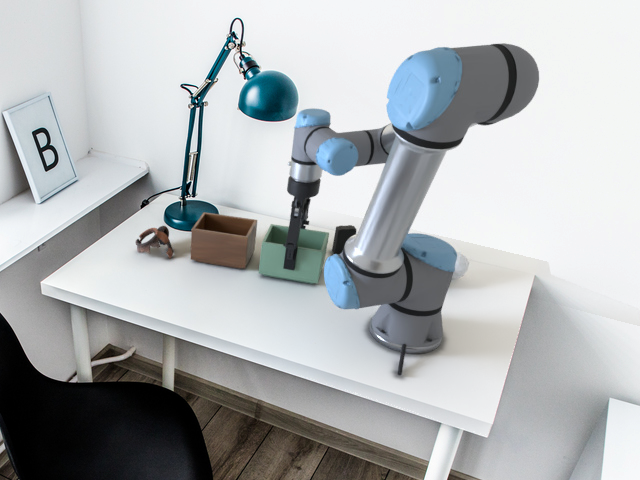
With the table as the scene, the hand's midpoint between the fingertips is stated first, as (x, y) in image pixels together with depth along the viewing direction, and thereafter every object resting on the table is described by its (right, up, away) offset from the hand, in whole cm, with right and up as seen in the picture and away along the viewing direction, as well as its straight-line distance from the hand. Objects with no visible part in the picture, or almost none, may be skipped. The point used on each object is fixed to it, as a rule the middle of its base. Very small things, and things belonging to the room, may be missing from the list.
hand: (293, 258), depth 168 cm
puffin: (+40, -2, -3) cm, 40 cm away
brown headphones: (-35, +3, +13) cm, 37 cm away
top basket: (0, -3, +2) cm, 4 cm away
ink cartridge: (+16, +2, +10) cm, 19 cm away
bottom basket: (-17, +1, +10) cm, 20 cm away
